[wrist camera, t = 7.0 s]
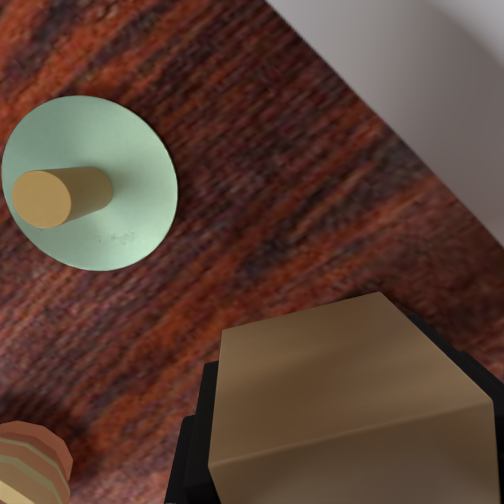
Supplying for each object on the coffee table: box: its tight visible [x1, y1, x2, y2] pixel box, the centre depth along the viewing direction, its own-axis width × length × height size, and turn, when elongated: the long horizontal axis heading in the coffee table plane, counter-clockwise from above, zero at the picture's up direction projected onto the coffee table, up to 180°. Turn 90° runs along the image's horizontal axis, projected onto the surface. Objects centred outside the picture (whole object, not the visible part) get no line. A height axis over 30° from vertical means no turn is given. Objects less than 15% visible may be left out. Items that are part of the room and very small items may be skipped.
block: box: [208, 292, 501, 504], centre depth 8 cm, size 4×4×4 cm
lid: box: [1, 95, 179, 271], centre depth 23 cm, size 13×13×8 cm
